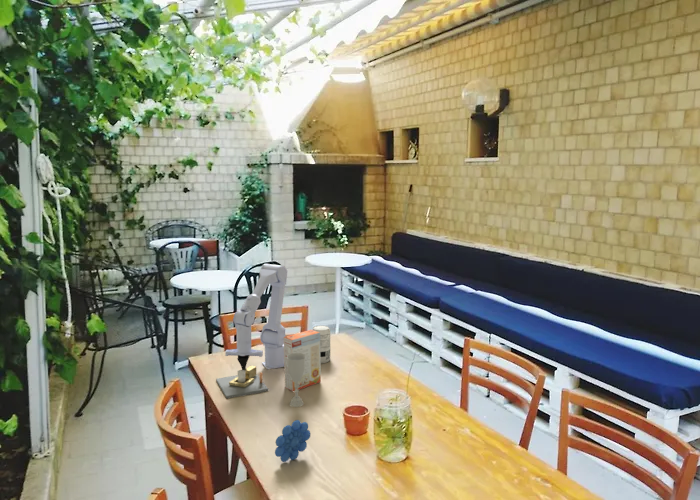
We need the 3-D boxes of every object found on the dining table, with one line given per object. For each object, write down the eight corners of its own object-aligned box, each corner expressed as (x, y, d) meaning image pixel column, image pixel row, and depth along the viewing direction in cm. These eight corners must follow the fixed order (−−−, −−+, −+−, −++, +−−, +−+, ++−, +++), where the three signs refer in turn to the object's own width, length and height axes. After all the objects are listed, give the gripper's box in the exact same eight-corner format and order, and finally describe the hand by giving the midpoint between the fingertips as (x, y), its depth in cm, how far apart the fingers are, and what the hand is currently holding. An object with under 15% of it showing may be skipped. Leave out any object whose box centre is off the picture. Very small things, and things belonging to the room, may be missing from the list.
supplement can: (309, 362, 239) (309, 329, 236) (315, 356, 246) (315, 324, 244) (326, 364, 236) (326, 331, 234) (332, 358, 244) (332, 326, 242)
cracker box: (311, 378, 221) (311, 328, 218) (321, 382, 217) (321, 332, 214) (283, 387, 212) (283, 335, 209) (292, 392, 208) (292, 339, 204)
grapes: (303, 447, 167) (302, 410, 166) (314, 457, 162) (314, 419, 160) (268, 458, 161) (268, 420, 159) (279, 469, 155) (278, 430, 154)
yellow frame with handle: (244, 387, 208) (244, 378, 208) (229, 384, 211) (228, 375, 210) (261, 375, 220) (261, 367, 219) (246, 373, 222) (246, 364, 222)
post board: (255, 374, 224) (255, 360, 224) (268, 391, 208) (268, 376, 208) (216, 380, 218) (215, 366, 217) (226, 398, 202) (226, 383, 201)
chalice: (302, 409, 193) (302, 360, 191) (284, 407, 195) (283, 359, 192) (308, 400, 201) (308, 353, 198) (290, 398, 202) (290, 352, 199)
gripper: (223, 343, 212) (223, 376, 214) (260, 344, 212) (260, 377, 214) (227, 337, 219) (228, 369, 221) (263, 338, 219) (263, 370, 221)
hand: (244, 372), depth 218 cm, fingers closed, pressing on yellow frame with handle
